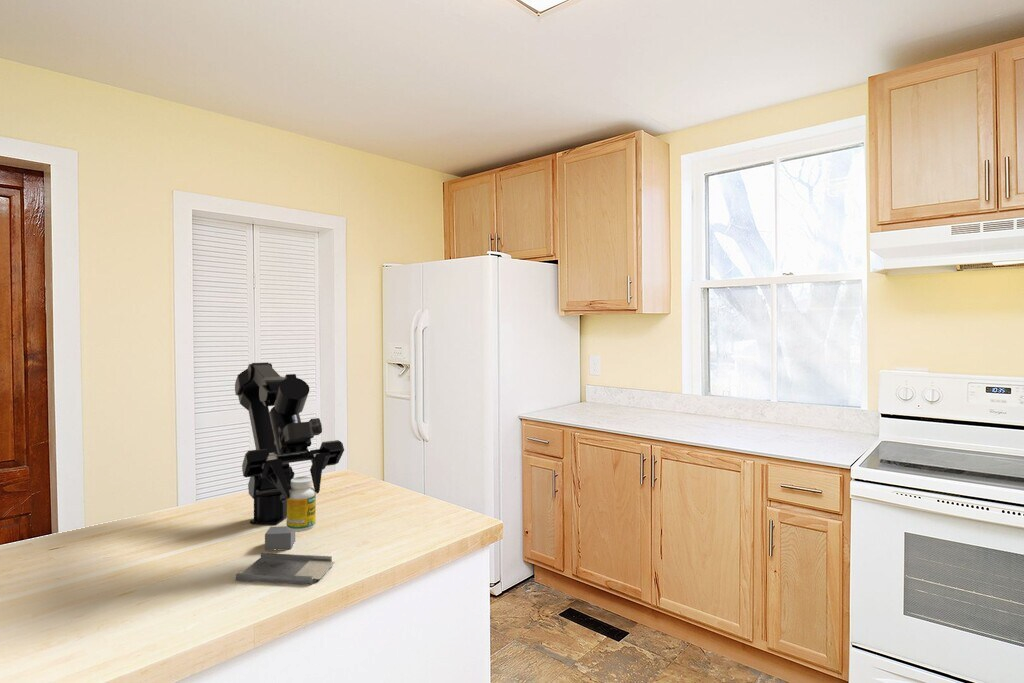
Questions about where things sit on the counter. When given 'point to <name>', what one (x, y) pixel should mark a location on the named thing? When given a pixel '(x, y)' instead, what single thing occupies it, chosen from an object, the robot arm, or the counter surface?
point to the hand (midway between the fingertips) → (303, 495)
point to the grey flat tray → (287, 568)
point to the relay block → (279, 538)
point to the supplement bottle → (301, 505)
